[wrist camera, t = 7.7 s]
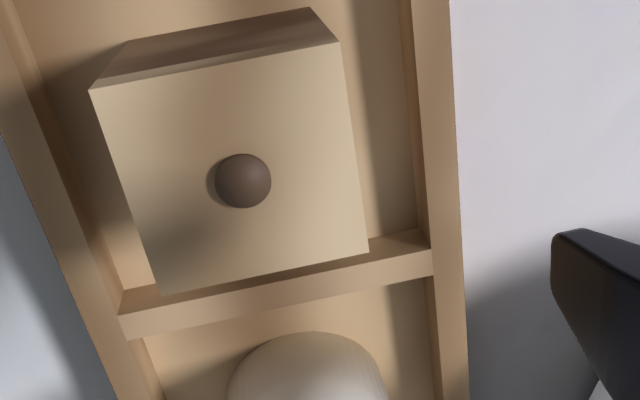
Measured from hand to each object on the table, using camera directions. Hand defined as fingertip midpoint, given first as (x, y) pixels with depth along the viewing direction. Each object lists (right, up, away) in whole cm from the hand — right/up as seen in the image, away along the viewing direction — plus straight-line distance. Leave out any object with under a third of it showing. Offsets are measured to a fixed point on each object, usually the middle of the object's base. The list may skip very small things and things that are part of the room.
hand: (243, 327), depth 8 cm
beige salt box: (-1, +4, +9) cm, 10 cm away
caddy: (-1, 0, +12) cm, 12 cm away
